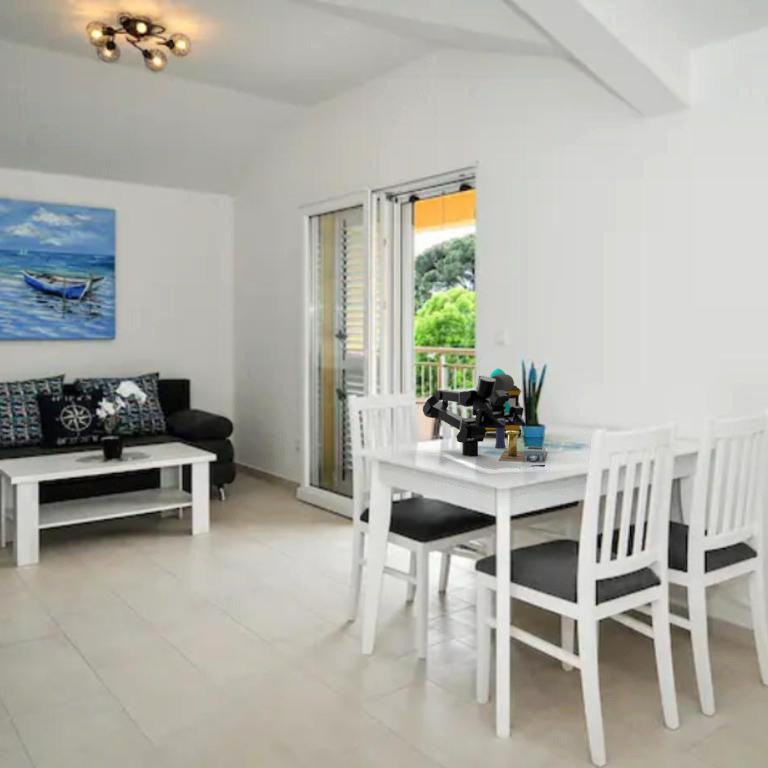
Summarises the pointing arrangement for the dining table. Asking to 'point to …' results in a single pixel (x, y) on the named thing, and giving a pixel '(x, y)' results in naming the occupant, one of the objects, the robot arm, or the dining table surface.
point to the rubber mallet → (506, 384)
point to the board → (517, 457)
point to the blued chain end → (534, 454)
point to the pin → (512, 442)
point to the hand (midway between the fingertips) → (514, 425)
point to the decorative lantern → (507, 405)
